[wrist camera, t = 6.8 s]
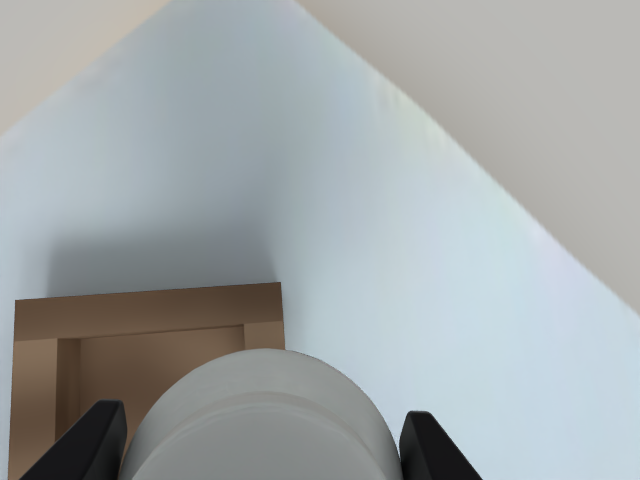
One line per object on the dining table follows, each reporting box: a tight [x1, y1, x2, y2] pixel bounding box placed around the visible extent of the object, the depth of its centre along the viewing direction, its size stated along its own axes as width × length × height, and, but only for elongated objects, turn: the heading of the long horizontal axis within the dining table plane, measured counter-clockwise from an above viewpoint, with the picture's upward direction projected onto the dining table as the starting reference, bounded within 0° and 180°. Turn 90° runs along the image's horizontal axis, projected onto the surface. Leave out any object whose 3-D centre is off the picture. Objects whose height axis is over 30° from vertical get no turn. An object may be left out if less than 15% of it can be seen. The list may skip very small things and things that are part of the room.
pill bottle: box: [118, 348, 404, 480], centre depth 11 cm, size 5×5×10 cm
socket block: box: [8, 282, 285, 480], centre depth 21 cm, size 10×10×3 cm
